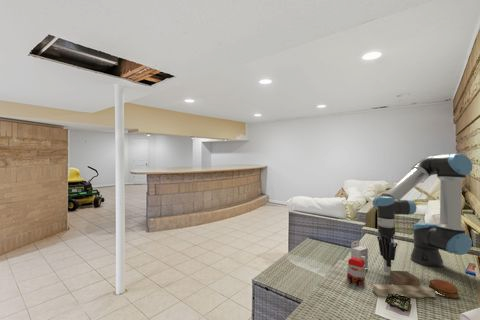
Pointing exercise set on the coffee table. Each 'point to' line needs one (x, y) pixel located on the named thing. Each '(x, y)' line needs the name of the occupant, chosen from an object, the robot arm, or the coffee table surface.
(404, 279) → the walnut block
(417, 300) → the coffee table surface
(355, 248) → the ink box
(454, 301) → the coffee table surface
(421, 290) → the maple board
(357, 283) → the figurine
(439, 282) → the burger
